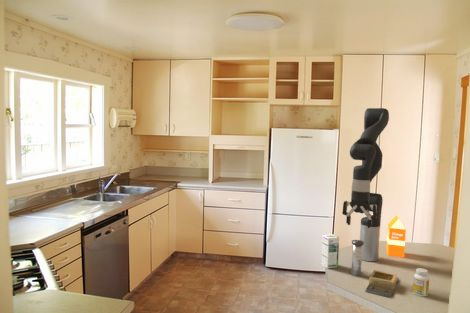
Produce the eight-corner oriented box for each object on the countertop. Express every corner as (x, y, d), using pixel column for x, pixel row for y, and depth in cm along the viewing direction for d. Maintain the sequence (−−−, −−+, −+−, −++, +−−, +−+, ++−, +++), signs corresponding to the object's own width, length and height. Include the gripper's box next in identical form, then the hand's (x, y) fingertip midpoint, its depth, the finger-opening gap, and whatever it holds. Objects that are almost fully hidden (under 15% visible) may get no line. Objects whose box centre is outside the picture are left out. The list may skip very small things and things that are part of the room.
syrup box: (327, 268, 165) (328, 237, 164) (320, 264, 171) (322, 234, 170) (338, 267, 167) (339, 237, 166) (331, 263, 173) (333, 233, 172)
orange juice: (387, 255, 186) (390, 217, 184) (386, 250, 194) (388, 214, 193) (404, 257, 184) (406, 219, 182) (401, 252, 192) (404, 215, 190)
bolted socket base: (376, 274, 160) (376, 265, 160) (398, 279, 155) (398, 270, 155) (365, 291, 143) (366, 281, 142) (390, 297, 138) (390, 287, 137)
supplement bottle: (423, 290, 145) (424, 267, 144) (431, 296, 140) (432, 272, 139) (410, 290, 145) (411, 267, 144) (417, 296, 139) (419, 272, 139)
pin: (351, 271, 163) (353, 239, 162) (363, 274, 160) (365, 241, 159) (348, 275, 159) (350, 241, 158) (360, 277, 156) (362, 244, 155)
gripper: (379, 190, 156) (377, 227, 157) (346, 187, 164) (344, 222, 165) (376, 192, 150) (373, 230, 151) (342, 189, 158) (340, 225, 159)
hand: (358, 226), depth 158 cm, fingers open, 8 cm apart
